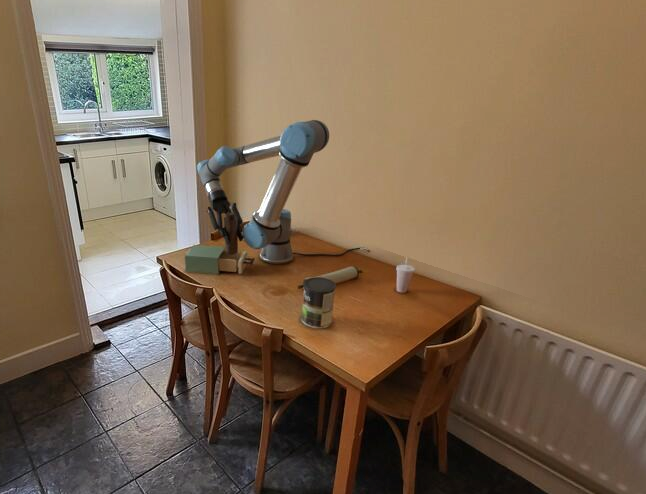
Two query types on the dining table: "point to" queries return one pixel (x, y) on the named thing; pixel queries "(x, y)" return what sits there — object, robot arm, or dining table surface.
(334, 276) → the rolling pin
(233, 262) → the drawer
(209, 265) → the cabinet
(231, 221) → the pepper mill
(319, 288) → the coffee can
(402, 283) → the smoothie
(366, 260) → the dining table surface
